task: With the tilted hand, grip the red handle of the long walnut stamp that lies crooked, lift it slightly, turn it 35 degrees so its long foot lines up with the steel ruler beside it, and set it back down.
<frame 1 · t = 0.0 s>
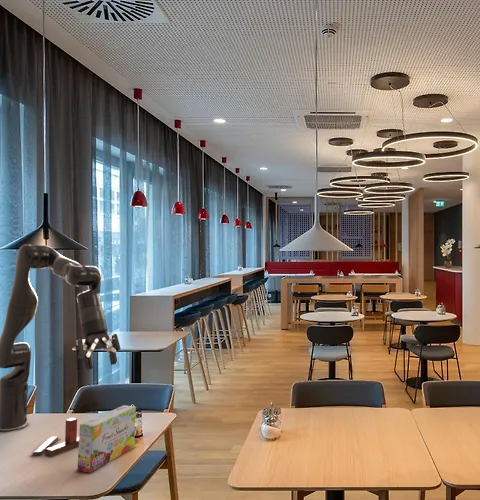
hand: (102, 366, 157), 31 cm above the table, tool tilted 20°, fingers open, 8 cm apart
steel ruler: (45, 447, 166), on the table
snack box: (107, 459, 158), on the table
stamp: (88, 440, 173), on the table
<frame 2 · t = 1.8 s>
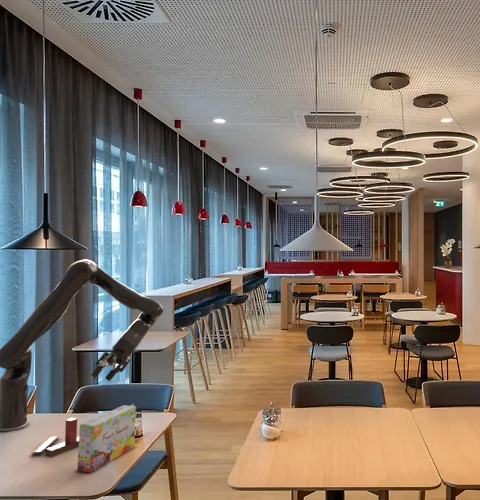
hand: (100, 378, 176), 22 cm above the table, tool tilted 45°, fingers open, 8 cm apart
nothing on the table moved.
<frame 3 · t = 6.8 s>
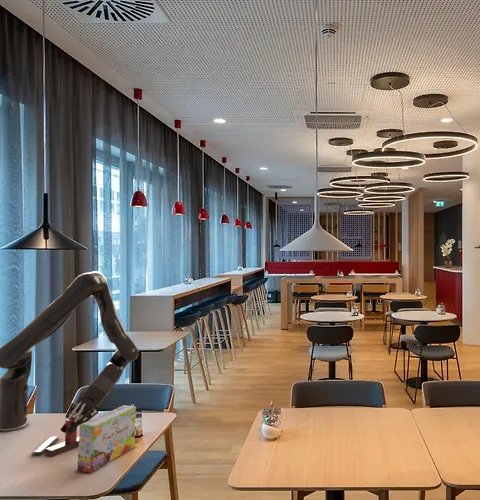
hand: (65, 432, 165), 6 cm above the table, tool tilted 45°, fingers closed on stamp, 2 cm apart
stamp: (88, 440, 173), on the table, touching gripper
everything else where it was.
when the fingers open (6 cm above the table, at t = 10.9 s): stamp stays where it is, on the table.
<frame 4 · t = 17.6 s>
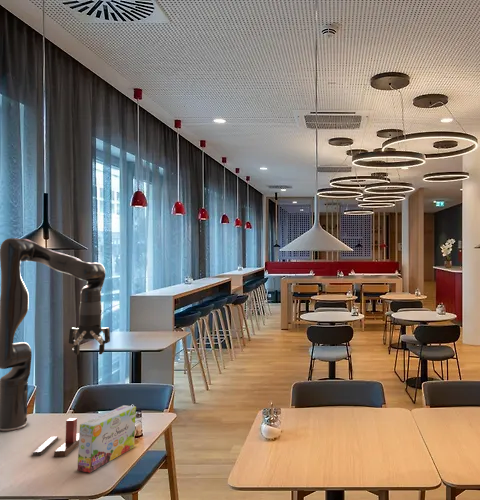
hand: (89, 354, 183), 30 cm above the table, tool pointing down, fingers open, 8 cm apart
stamp: (79, 439, 173), on the table
everything else where it was.
at the end: stamp 0.5 cm from the target spot, on the table; stamp tilted 0°; the gripper is holding nothing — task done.
